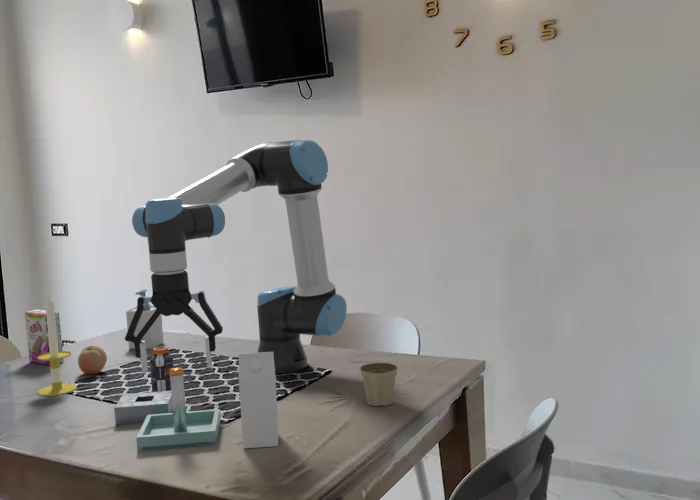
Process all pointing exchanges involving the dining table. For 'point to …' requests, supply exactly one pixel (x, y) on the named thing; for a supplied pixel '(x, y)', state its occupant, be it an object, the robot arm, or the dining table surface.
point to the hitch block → (142, 406)
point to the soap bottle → (153, 334)
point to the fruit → (92, 360)
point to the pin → (178, 400)
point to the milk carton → (258, 400)
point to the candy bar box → (40, 335)
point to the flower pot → (379, 382)
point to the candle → (54, 357)
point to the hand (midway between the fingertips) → (177, 369)
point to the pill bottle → (161, 369)
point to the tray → (161, 432)
